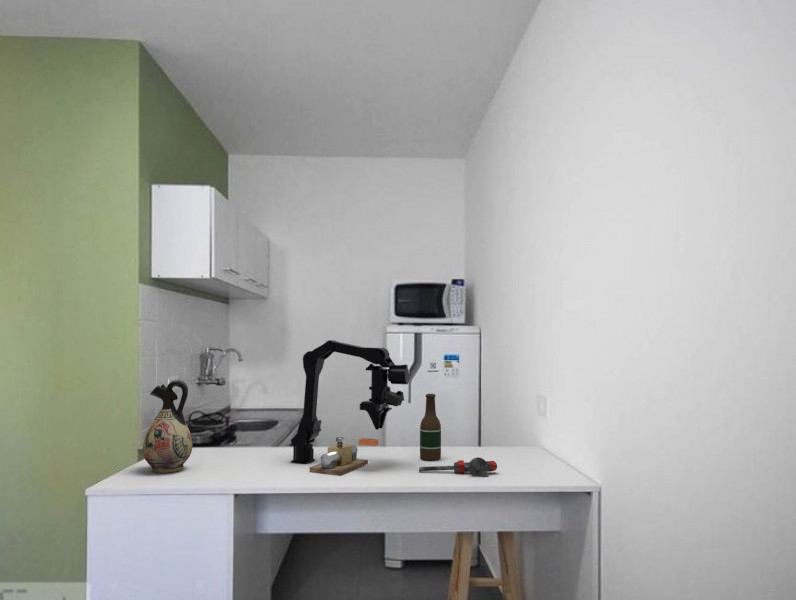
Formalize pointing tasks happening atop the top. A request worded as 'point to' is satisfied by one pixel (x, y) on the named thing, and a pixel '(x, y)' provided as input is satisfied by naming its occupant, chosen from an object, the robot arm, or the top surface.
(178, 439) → the ceramic jug
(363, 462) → the valve base
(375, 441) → the lever
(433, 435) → the beer bottle
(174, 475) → the top surface
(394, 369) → the robot arm
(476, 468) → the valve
